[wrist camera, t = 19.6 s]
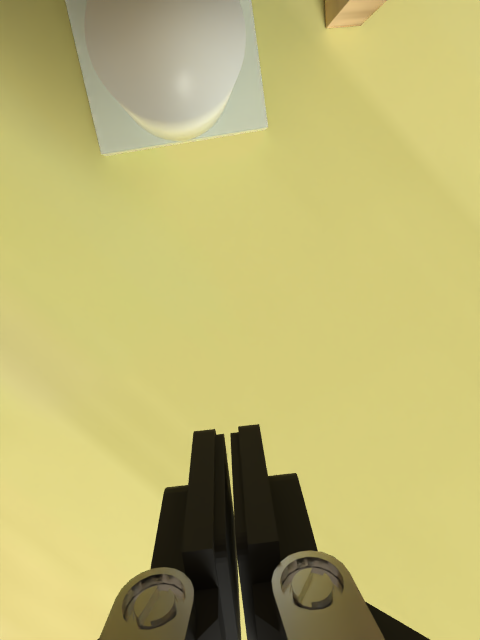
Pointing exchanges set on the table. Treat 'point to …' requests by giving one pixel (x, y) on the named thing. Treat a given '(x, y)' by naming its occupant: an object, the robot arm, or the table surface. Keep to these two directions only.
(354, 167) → the table surface
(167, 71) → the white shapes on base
